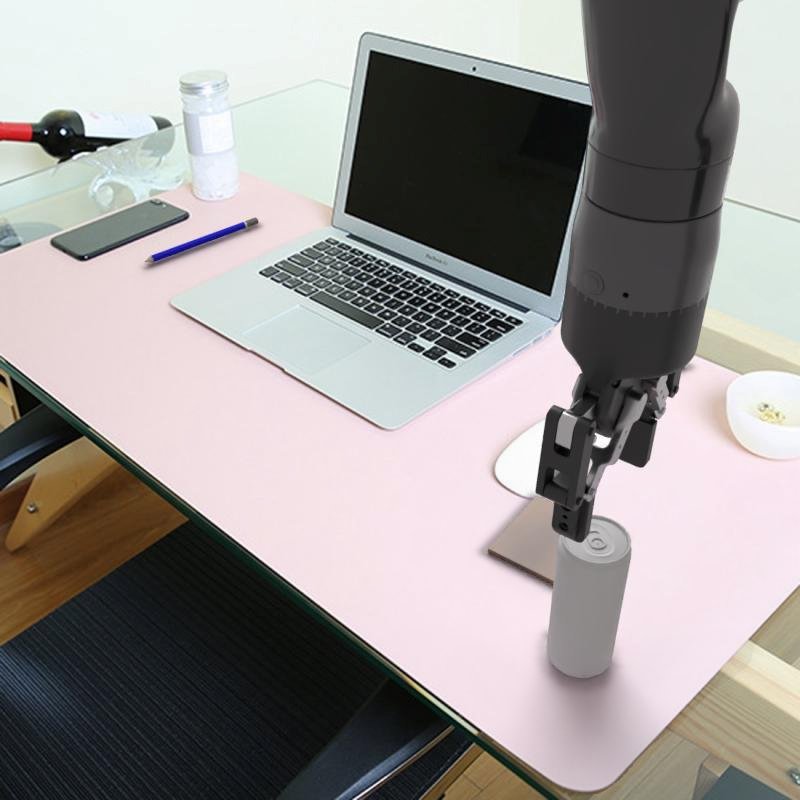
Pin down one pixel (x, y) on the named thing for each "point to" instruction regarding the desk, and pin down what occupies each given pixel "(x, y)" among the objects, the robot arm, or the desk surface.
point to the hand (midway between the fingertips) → (602, 495)
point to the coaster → (530, 540)
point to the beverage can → (588, 598)
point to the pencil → (202, 240)
